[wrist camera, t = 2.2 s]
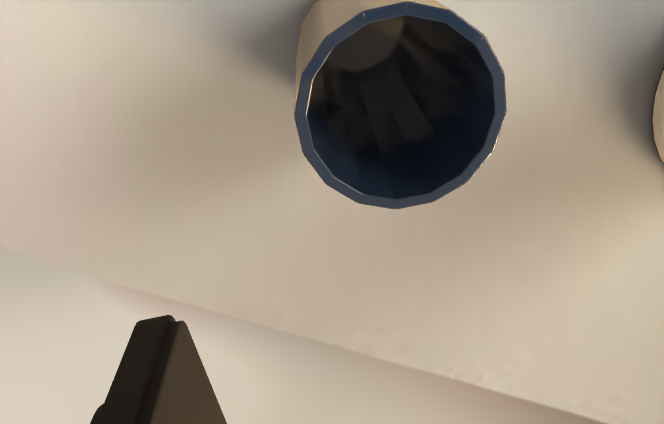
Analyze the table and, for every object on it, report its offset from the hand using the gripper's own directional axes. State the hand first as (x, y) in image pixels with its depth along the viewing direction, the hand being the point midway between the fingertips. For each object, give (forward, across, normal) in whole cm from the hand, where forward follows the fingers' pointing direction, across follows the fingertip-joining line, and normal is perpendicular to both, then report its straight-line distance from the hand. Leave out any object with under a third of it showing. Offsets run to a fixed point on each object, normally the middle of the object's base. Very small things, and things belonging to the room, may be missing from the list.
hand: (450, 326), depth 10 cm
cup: (+20, -1, -1) cm, 20 cm away
